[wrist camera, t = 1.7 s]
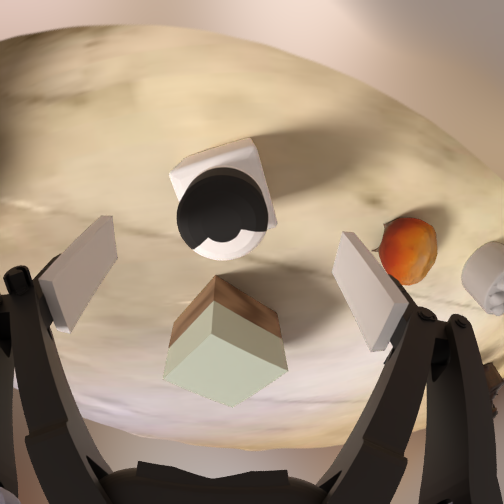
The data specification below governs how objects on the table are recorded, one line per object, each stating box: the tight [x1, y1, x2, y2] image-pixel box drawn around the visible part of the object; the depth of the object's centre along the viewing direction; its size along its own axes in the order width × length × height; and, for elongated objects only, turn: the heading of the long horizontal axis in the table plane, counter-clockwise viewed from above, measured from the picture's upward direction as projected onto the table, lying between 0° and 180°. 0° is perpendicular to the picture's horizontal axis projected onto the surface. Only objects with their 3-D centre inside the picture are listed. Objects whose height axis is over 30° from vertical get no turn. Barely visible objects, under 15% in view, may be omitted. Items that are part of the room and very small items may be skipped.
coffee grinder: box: [483, 363, 504, 419], centre depth 49 cm, size 16×11×18 cm
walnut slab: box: [169, 275, 282, 348], centre depth 35 cm, size 10×10×5 cm
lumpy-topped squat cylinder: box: [461, 242, 504, 316], centre depth 33 cm, size 10×13×9 cm
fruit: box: [373, 218, 437, 285], centre depth 30 cm, size 8×8×8 cm
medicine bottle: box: [169, 138, 277, 260], centre depth 23 cm, size 7×7×12 cm
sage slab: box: [163, 301, 288, 408], centre depth 30 cm, size 10×10×5 cm
